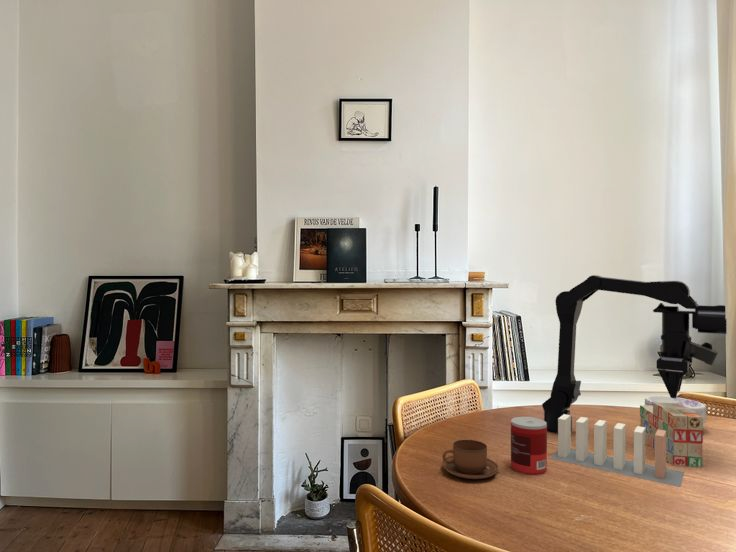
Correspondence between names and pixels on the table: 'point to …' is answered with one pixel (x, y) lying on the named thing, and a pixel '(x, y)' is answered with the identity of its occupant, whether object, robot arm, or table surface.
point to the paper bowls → (690, 404)
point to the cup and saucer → (469, 460)
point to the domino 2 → (581, 439)
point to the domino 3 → (600, 442)
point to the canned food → (529, 445)
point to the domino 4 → (619, 445)
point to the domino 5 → (639, 450)
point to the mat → (625, 468)
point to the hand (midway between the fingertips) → (675, 394)
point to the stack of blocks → (675, 431)
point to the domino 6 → (660, 454)
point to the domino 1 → (564, 435)
